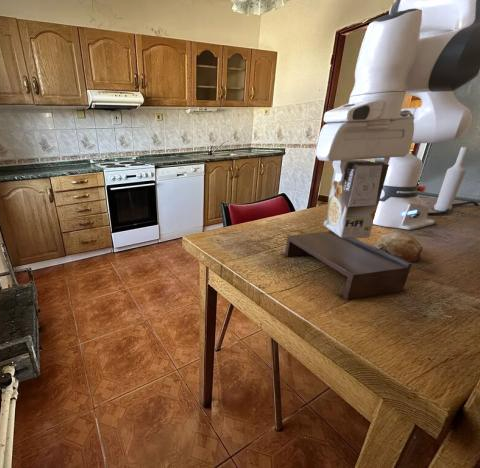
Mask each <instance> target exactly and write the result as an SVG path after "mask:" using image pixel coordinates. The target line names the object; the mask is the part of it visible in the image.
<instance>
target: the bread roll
mask: <svg viewBox="0 0 480 468" xmlns="http://www.w3.org/2000/svg"><path fill="white" fill-rule="evenodd" d="M374 247H375V248H378V249H380V250H382V251H385V252H387V253H389V254H391V255H394V256H396V257H398V258H401V259H403V260H405V261H407V262H410V263H412V262H416V261H418V259H419V258H420V256H421V254H422V252H423V246H422V244H421V243H420V241H418V239H416V238H415V237H414V236H412V235H410V234H408V233H404V232H402V233H401V232H392V233H385V234H383V235H380V236H379V237H378V238H377V239H376V241H375V245H374Z"/></svg>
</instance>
